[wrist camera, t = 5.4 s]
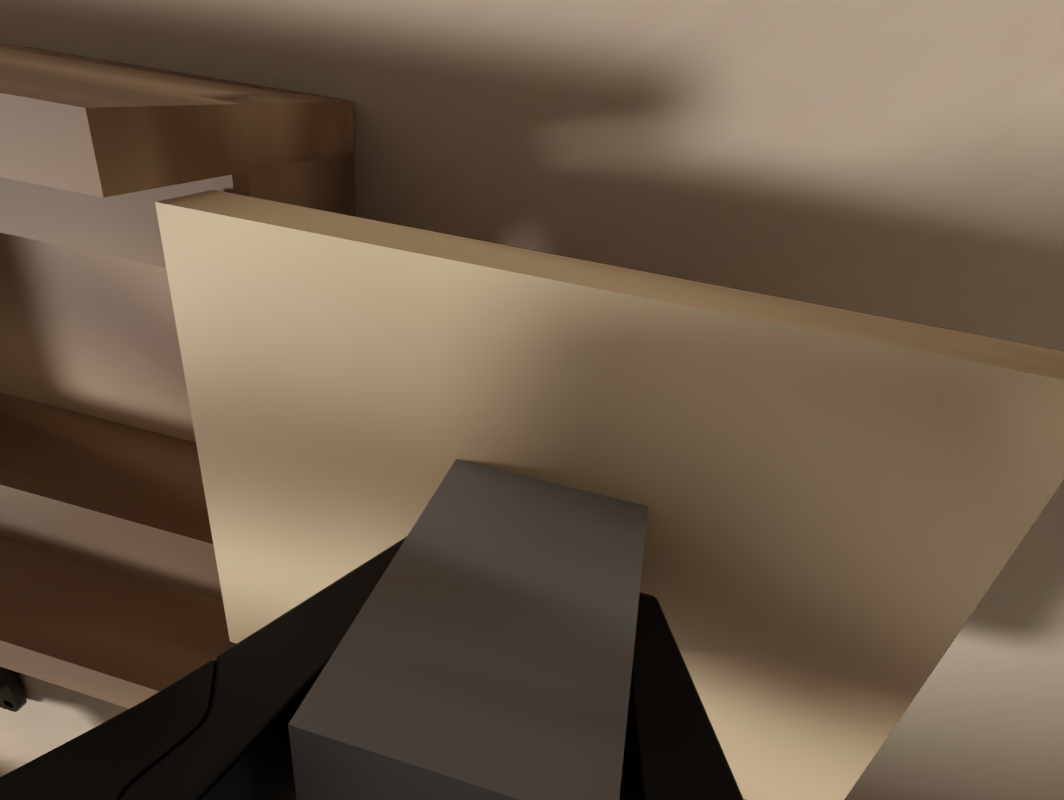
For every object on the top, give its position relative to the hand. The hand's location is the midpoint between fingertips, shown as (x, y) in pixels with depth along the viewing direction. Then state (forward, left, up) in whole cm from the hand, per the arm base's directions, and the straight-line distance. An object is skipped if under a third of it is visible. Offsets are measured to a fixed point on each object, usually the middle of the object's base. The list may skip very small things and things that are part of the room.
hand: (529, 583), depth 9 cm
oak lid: (0, 0, -2) cm, 2 cm away
